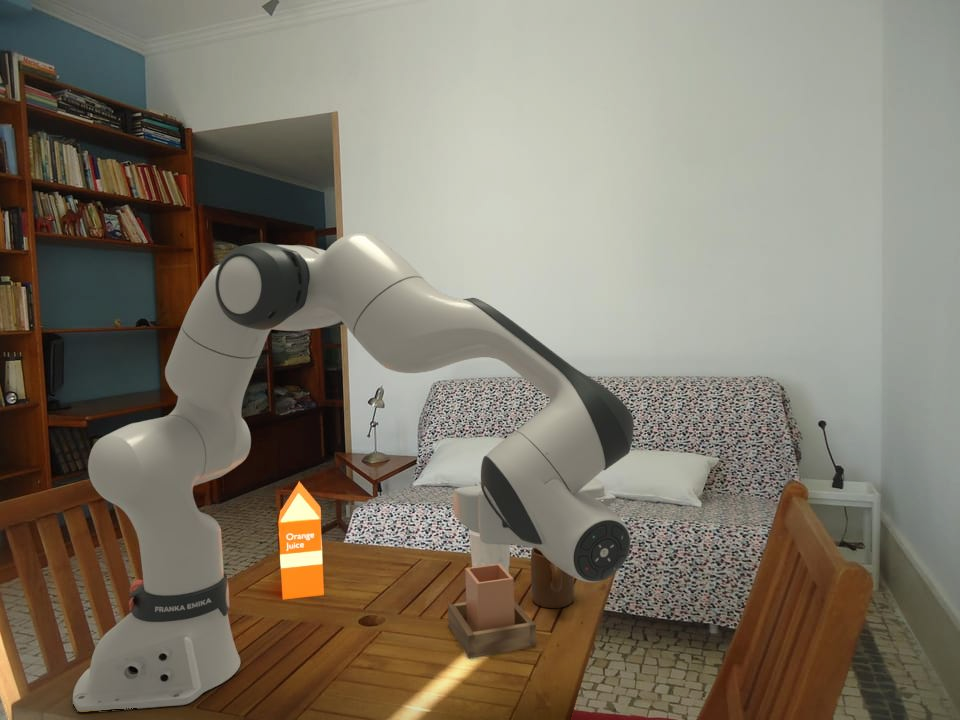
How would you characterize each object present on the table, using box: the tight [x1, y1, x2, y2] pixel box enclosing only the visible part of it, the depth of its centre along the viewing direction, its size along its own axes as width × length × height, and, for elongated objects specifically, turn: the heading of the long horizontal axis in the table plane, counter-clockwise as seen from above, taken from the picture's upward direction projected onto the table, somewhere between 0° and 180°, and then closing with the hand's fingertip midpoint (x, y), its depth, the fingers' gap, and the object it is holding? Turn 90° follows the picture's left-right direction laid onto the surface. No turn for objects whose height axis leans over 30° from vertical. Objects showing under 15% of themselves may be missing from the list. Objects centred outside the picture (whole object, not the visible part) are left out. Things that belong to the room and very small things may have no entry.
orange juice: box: [277, 481, 325, 600], centre depth 139 cm, size 8×9×20 cm
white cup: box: [469, 530, 511, 574], centre depth 141 cm, size 8×8×10 cm
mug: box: [530, 548, 575, 609], centre depth 128 cm, size 12×8×9 cm, turn 1°
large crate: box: [447, 600, 537, 660], centre depth 118 cm, size 11×12×4 cm
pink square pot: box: [464, 564, 515, 632], centre depth 118 cm, size 6×7×10 cm
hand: (511, 484), depth 104 cm, fingers open, 8 cm apart
